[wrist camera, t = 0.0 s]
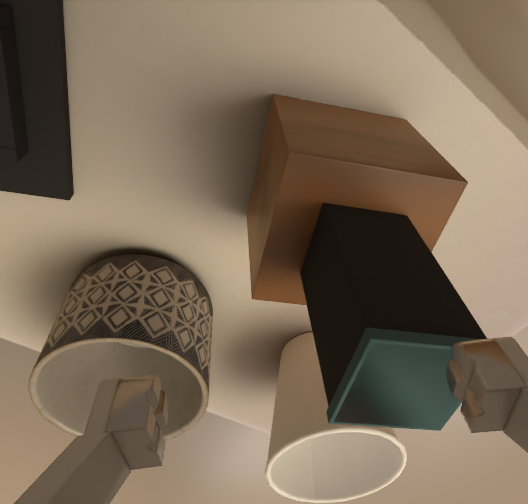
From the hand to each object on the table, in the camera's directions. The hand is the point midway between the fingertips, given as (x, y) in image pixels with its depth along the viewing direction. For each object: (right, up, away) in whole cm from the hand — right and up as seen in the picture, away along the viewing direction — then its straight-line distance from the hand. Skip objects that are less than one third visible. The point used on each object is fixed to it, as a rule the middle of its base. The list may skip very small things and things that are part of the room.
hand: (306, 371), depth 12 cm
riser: (+3, +10, +21) cm, 23 cm away
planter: (-12, -1, +28) cm, 31 cm away
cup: (+4, -7, +34) cm, 35 cm away
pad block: (+4, +4, +13) cm, 14 cm away
